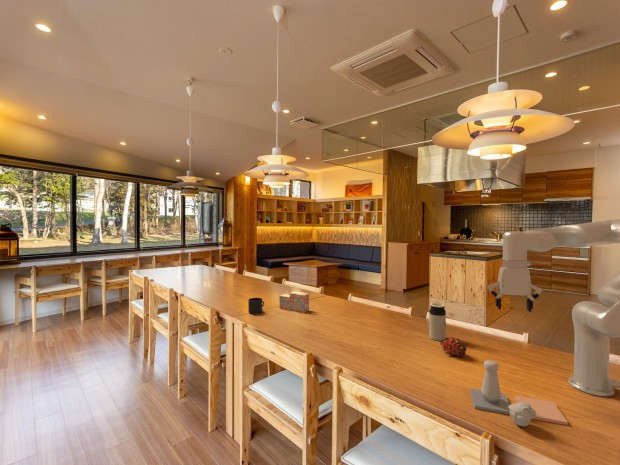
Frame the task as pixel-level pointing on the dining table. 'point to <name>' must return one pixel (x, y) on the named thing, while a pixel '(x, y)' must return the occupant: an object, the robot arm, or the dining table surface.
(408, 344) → the dining table surface
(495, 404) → the slate tile
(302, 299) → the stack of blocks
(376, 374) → the dining table surface
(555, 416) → the terracotta tile
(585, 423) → the dining table surface
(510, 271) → the robot arm
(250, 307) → the mug
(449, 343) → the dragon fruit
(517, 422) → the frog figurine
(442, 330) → the travel mug
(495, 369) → the salt shaker
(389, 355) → the dining table surface
